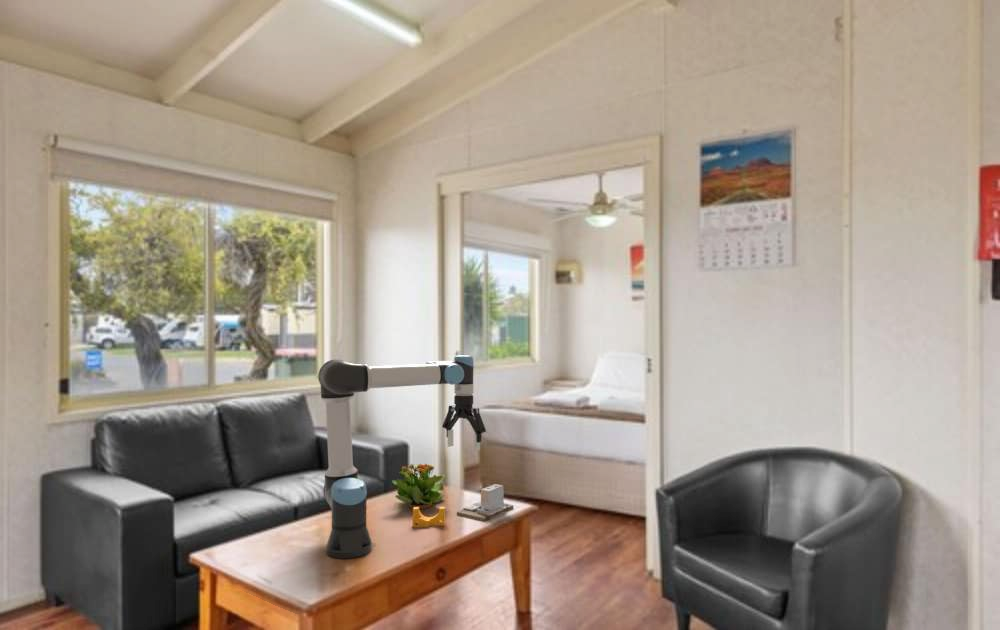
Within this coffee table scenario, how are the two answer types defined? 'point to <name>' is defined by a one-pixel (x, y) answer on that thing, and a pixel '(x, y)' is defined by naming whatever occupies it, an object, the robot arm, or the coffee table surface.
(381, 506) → the coffee table surface
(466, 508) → the hinge board
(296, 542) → the coffee table surface
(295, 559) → the coffee table surface
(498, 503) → the leaf block
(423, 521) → the pipe clamp
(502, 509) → the leaf seat
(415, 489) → the potted flower
